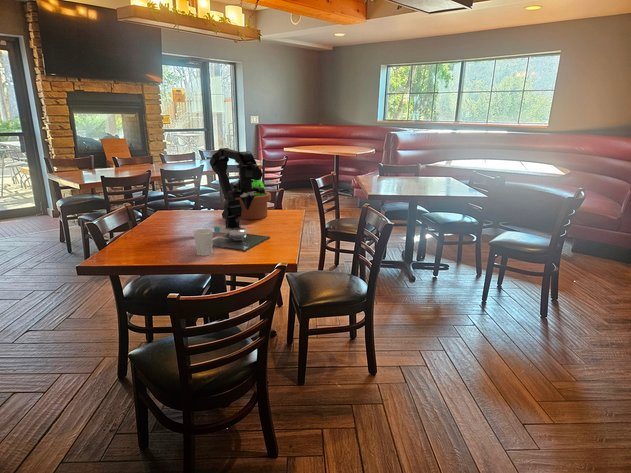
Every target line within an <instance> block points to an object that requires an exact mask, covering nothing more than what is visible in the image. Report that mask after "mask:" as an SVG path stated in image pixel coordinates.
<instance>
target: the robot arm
mask: <svg viewBox="0 0 631 473" xmlns="http://www.w3.org/2000/svg"><path fill="white" fill-rule="evenodd" d="M252 153H253V152H251V151H250V150H248V151H247V150H246V151H238V150H235V149H230V148H228V147H220V148H219V149H218V150H217V152H215V153H213V154H212V156H211V157H210V160H209V166H210V167H211V169H212V171H213V172H214V173H215V174H216V175H217V177H218V181H219V185H220V187H221V191H222V195H223V197H224V198H223V199H224V205H223V208H224V210H223V211H222V213H221V217H222V218H223V219H224V220H225V228H231V229H233V228H242V226H240V220H239V219H240V218H238V217H241V213H242V206H241V204H240V201H239V199H236V198H239V197H240V198H241V199H242V201H243V203H244V205H245V208H246V210H248V209H249V207H250V205H251V203H252V201H253V199H254V197H256V195H254V193H257V192H259V193H260V194H264V193H265V190H266V188H265V187H264V188H265V189H264V188H263V187H253V188H252V182H253V180H260V179H261V180H262V178H263V171H262V169H261V168H260V167H259V165H258V164H257V161H256V159H255V157H254V155H253V154H252ZM230 159H231V160H234V162H235V163H237V164H238V165H236V168H237V169H238V171H239V172H238V173H239V179H238V181H237V183H236V181H234V182H231V181H230V179H229V175H228V173H227V170H228V167H229V165H228V163H229V161H230ZM252 179H253V180H252ZM244 192H245V193H244Z"/></svg>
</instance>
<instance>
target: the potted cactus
mask: <svg viewBox="0 0 631 473" xmlns="http://www.w3.org/2000/svg"><path fill="white" fill-rule="evenodd" d="M252 180H253V179H252ZM253 187H263V188H264V189H265V193H264V194H260V193H259V192H257V193H254V195H256V197H254V199H253V201H252V203H251V205H250V207H249V209H248V210H246V208H245V205H244V203H243V201H242V199H241V198H240V197H239V198H236V199H239V201H240V204H241V206H242V213H241V217H238V219H241V220H245V221H246V220H247V221H254V220H256V221H257V220H260V219H261V220H262V219H265V218H266V217H268V202H270V201H272V194H271V192H269V191H266V188H265V184H264V181H262V178H261V179H260V180H253V182H252V188H253ZM244 193H245V192H244Z"/></svg>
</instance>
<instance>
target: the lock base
mask: <svg viewBox="0 0 631 473" xmlns="http://www.w3.org/2000/svg"><path fill="white" fill-rule="evenodd" d="M269 239H271V236H268V235H263V234H262V235H260V234H252V233H247V236H246V237H244V238H239V239H234V238H230V235H229V233H225V234H224V235H222V236H216V238H215V239H213V247H212V248H220V249H226V250H230V251H231V250H234V251H239V252H247V251H249V250H250V249H253V248H255V247H257V246H259V245H260V244H262V243H265V241H268V240H269Z"/></svg>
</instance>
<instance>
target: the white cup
mask: <svg viewBox="0 0 631 473" xmlns="http://www.w3.org/2000/svg"><path fill="white" fill-rule="evenodd" d="M213 237H214V236H213V229H209V228H201V229H196V230H194V231H193V239H194V245H195V249H196V250H195V251H196V255H197V256H200V255H201V257H204V256H205V257H206V256H209V255H212V254H213V252H214V250H213V249H214V247H213V240H214V238H213Z"/></svg>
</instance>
